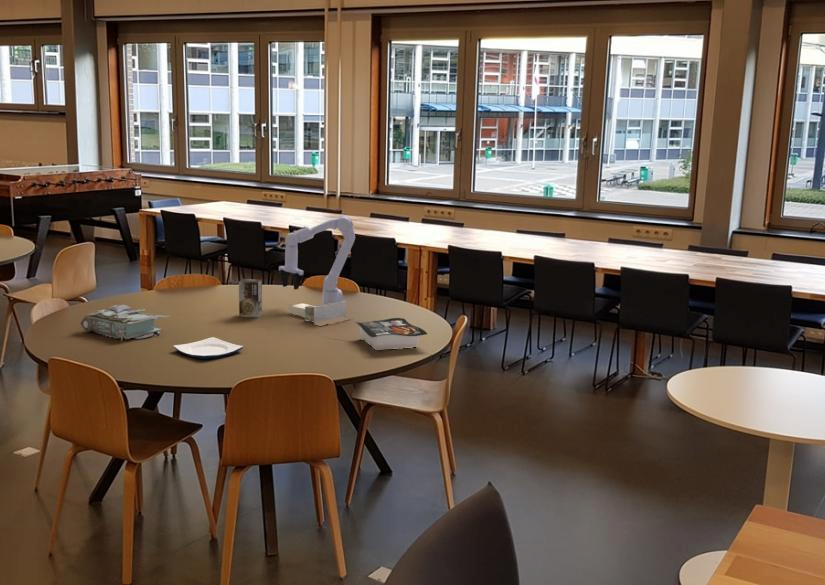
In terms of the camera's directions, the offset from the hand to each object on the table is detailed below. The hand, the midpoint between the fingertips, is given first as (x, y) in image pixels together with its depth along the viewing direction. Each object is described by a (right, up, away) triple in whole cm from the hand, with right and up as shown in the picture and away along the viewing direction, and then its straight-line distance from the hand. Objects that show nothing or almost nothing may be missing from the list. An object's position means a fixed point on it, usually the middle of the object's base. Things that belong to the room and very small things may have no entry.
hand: (290, 287), depth 391 cm
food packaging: (+47, -23, -53) cm, 75 cm away
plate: (-20, -25, -74) cm, 81 cm away
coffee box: (-16, -13, -16) cm, 26 cm away
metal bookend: (+22, -15, -22) cm, 35 cm away
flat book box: (+8, -13, -11) cm, 18 cm away
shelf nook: (+17, -14, -18) cm, 29 cm away
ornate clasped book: (-59, -19, -51) cm, 81 cm away
